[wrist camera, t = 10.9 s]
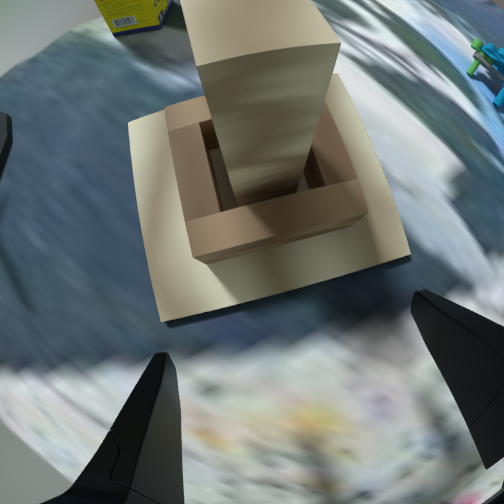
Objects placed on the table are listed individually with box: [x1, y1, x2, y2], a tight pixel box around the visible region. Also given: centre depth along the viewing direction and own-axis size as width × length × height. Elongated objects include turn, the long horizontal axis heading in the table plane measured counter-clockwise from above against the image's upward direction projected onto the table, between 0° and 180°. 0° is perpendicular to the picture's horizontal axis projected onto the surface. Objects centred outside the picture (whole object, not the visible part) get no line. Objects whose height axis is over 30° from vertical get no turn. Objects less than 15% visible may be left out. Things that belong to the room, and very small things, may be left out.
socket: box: [128, 73, 411, 322], centre depth 19 cm, size 18×16×5 cm
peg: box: [180, 0, 341, 207], centre depth 14 cm, size 4×4×14 cm
